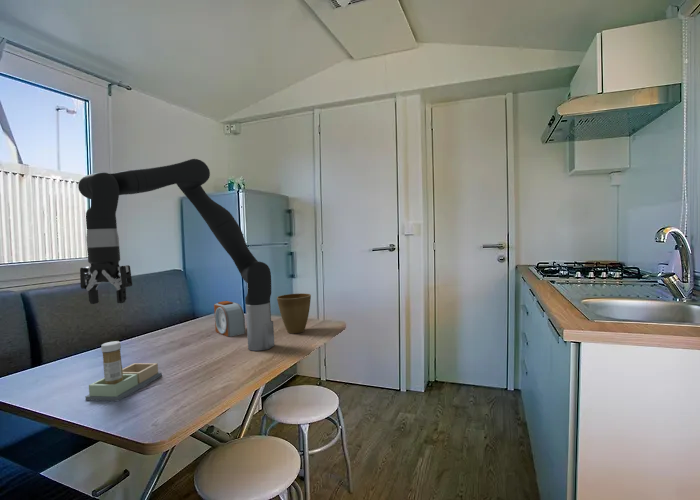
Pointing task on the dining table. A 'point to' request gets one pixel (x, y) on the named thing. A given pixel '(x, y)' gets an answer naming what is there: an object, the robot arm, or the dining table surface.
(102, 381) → the socket board
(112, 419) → the dining table surface
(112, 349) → the sprinkles bottle
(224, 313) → the alarm clock
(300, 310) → the plant pot
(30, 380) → the dining table surface
